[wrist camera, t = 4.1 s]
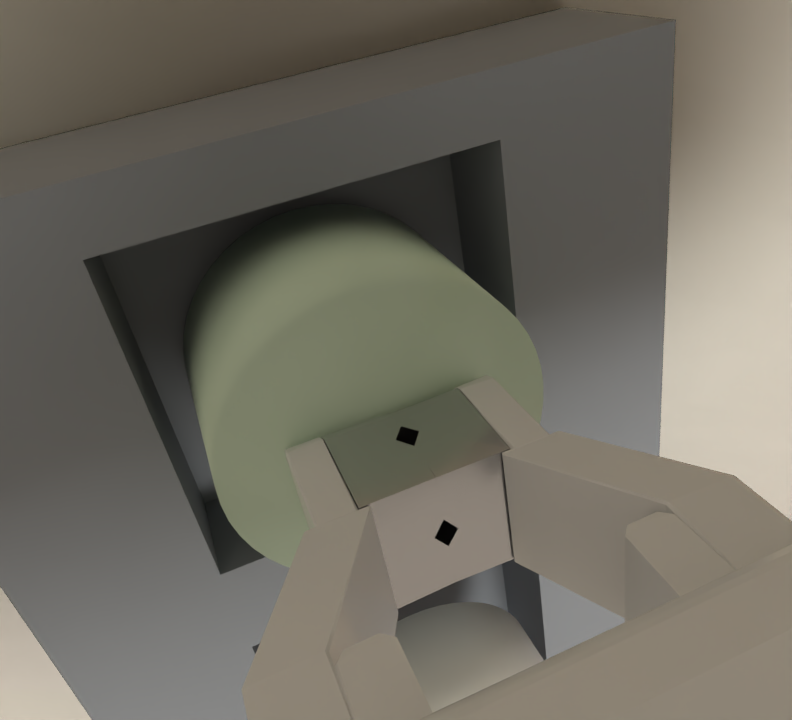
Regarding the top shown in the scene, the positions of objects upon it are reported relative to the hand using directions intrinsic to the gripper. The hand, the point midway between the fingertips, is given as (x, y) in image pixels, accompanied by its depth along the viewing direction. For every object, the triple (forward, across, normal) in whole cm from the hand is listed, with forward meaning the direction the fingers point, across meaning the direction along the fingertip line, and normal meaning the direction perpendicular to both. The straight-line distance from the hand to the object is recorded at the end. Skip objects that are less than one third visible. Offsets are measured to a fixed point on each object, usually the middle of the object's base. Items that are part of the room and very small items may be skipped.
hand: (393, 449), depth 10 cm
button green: (+3, 0, 0) cm, 3 cm away
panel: (+5, 0, +8) cm, 9 cm away
